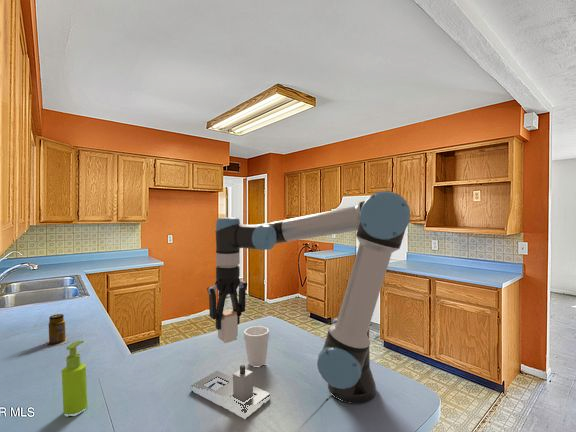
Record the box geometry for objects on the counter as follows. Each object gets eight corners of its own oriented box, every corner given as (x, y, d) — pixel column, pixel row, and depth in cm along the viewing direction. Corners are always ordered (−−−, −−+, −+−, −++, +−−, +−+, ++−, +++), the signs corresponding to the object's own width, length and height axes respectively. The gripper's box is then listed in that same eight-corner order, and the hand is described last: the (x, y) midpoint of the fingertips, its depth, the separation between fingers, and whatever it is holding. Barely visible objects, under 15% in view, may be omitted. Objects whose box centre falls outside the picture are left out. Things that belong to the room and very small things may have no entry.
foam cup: (246, 373, 113) (245, 337, 112) (243, 360, 121) (242, 327, 121) (272, 368, 115) (271, 334, 115) (267, 357, 124) (266, 324, 124)
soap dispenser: (93, 401, 98) (90, 338, 97) (79, 416, 91) (76, 349, 90) (74, 402, 97) (71, 339, 97) (58, 417, 91) (55, 349, 90)
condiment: (66, 337, 148) (65, 312, 148) (67, 342, 142) (66, 316, 141) (46, 341, 143) (45, 315, 143) (47, 347, 137) (46, 320, 136)
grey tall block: (253, 400, 96) (252, 365, 95) (243, 408, 92) (242, 371, 92) (243, 396, 98) (242, 361, 98) (233, 403, 95) (232, 367, 94)
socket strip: (270, 401, 96) (270, 393, 96) (245, 421, 87) (245, 413, 87) (217, 377, 110) (216, 370, 110) (191, 393, 101) (190, 385, 101)
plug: (230, 335, 105) (230, 308, 105) (236, 339, 102) (236, 312, 101) (219, 338, 102) (219, 311, 102) (225, 343, 99) (225, 315, 99)
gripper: (244, 260, 109) (244, 326, 110) (197, 266, 98) (197, 339, 99) (256, 264, 103) (256, 333, 104) (207, 271, 93) (207, 348, 94)
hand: (227, 336), depth 102 cm, fingers closed on plug, 4 cm apart
